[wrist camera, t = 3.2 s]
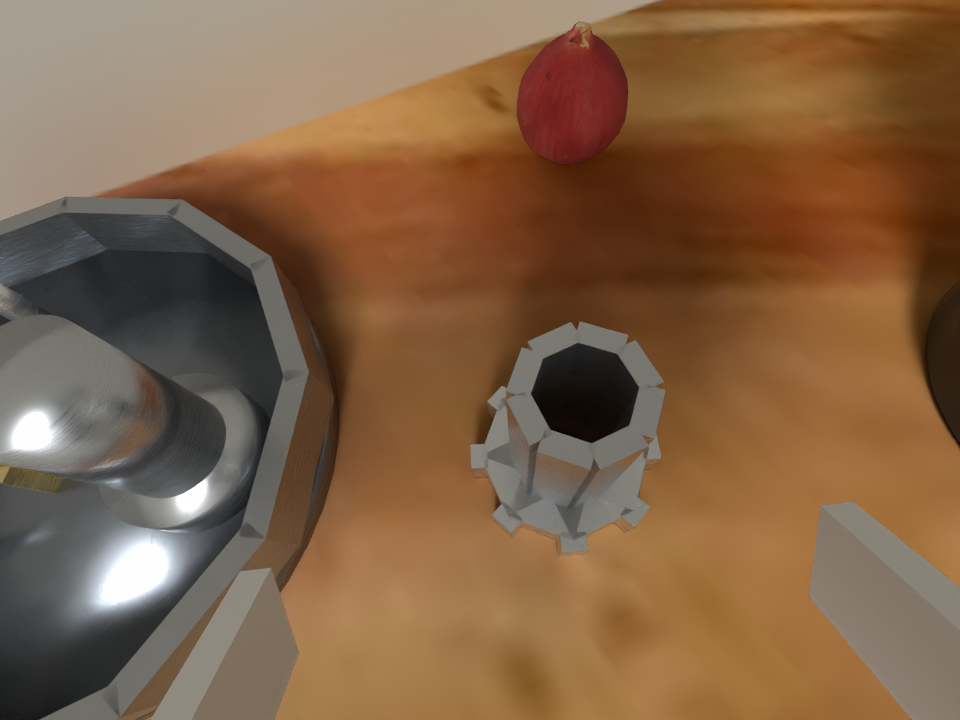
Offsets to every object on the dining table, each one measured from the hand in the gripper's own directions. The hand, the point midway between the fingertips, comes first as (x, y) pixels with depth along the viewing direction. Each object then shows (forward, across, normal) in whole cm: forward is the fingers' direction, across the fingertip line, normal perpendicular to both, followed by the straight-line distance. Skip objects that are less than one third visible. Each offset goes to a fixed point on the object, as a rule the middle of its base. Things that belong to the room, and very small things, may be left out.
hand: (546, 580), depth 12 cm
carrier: (+12, -20, -1) cm, 24 cm away
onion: (+22, +5, +10) cm, 25 cm away
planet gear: (+10, +2, -3) cm, 10 cm away
